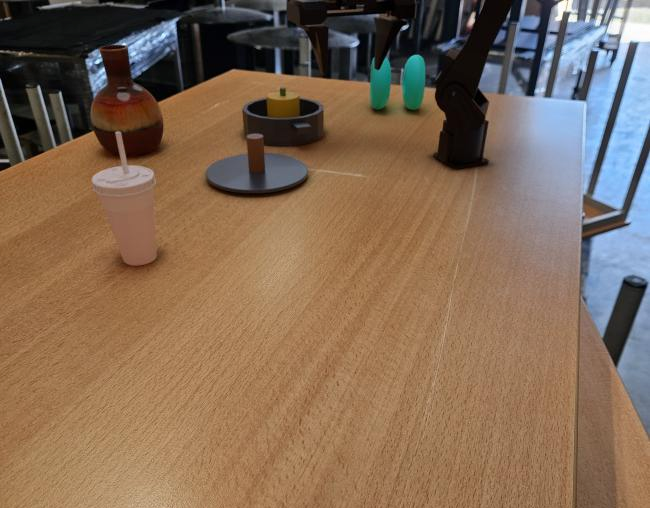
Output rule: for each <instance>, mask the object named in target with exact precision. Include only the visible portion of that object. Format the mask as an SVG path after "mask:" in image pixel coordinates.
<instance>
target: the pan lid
mask: <svg viewBox="0 0 650 508" xmlns="http://www.w3.org/2000/svg"><path fill="white" fill-rule="evenodd" d="M245 138H246V150H247V151H246V152H247V153H241V154H236V155H231V156H226V157H224V158H221V159H218V160H216V161H215V162H213V163H211V164H210V165H209V166H208V167H207V168H206V171H205V179H206V181H207V182H208V183H209V184H210V185H212V186H213V187H215V188H217V189H220V190H224V191H227V192H233V193H239V194H266V193H276V192H279V191H284V190H289V189H290V188H293V187H295V186H297V185H300V184H301V183H303V182H304V181H305V180H306V179H307V177H308V175H309V169H308V166H307V165H306V164H305V162H303V161H302V160H300V159H298V158H296V157H293V156H290V155H286V154H280V153H271V152H270V153H269V152H265V145H264V140H263V135H261V134H249V135H247V136H246V137H245Z"/></svg>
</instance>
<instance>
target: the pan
mask: <svg viewBox="0 0 650 508" xmlns="http://www.w3.org/2000/svg"><path fill="white" fill-rule="evenodd" d="M299 106H300V117H291V118H272V117H268V111H267V97H262V98H258V99H255V100H252V101H251V100H250V101H249V102H247V103H245V104H244V105H243V107H242V109H241V112H242V125H243V126H242V127H243V133H244V136H245V138H246V136H247V135H249V134H261V135H263V140H264V146H269V147H271V146H272V147H293V146H302V145H306V144H310V143H313V142H316V141H318V140H320V139H321V138H322V137H323V136H324V128H325V126H324V124H325V123H324V120H325V119H324V115H325V113H324V112H325V109H324V104H323V103H321V102H319V101H318V100H314V99H310V98H306V97H299Z"/></svg>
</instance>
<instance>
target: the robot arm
mask: <svg viewBox="0 0 650 508" xmlns="http://www.w3.org/2000/svg"><path fill="white" fill-rule="evenodd" d="M416 1H417V0H289V1H288V2H287V5H286V20H287V21H289V22H290V23H294V24H295V25H296V27H297V28H299V29H300V30H301V29H302V30H303V31H304V32H305V34H306V35H307V38H308V40H309V42H310V44H311V47H312V50H313V53H314V56H315V60H316V63H317V66H318V68H319V72H320V74H321V76H326V75H327V71H328V61H329V60H328V59H329V57H328V56H329V30H330V27H329V26H328V25H325V24H324V23H325V21H326V20H327V19H328V18H337V17H338V18H339V17H354V16H355V17H356V16H371V15H378V16H374V17H373V21H374V22H373V23H374V26H375V44H374V55H373V56H374V57H373V58H374V68H375V69H376V70H380V68H381V66H382V64H383V62H384V60H385V58H387V56H388V53H389V52H390V50H391V47H392V45H393V44H394V42H395V40H396V39H397V37H398V35H399V33H400V32H401V30H402V29H403V27H404V26H408V24H409V21H408V20H413V19H416V18H417V8H418V4H417V2H416ZM515 1H516V0H485V1H484V3H483V5H482V7H481V10H480V11H479V14H478V16H477V18H476V20H475V22H474V24H473V27H472V29H471V31H470V33H469V35H468V37H467V39H466V41H465V43H464V44H463V46H462V47H461V49H460V50H459V52H458V51H457V50H455V49H454V48H452V47H451V48H450V49H449V50H448V52H447V53H446V55H445V58H444V61H443V65H442V69H441V71H439V73H438V74H437V76H436V77H435V80H434V81H433V85H437V86H436V87H435V88H436V89H435V92H434V99H435V103H436V106H437V107H438V108H439V110H440V111H442V112H443V113H444V117H445V119H443V122H442V129H441V130H440V131H439V137H438V144H437V145H438V146H437V152H434V153H433V158H435V159H437V160H439V161H440V162H442V163H444V164H446V165H447V166H449V167H450V168H452V169H455V170H457V169H458V170H459V169H465V168H469V167H476V166H483V165H488V164H489V162H490V160H489V159H488V158H486V157H484V152H485V147H486V140H487V134H488V129H489V123H490V120H487V119H486V117H487V114H488V111H489V110H488V109H489V106H490V101H489V99H488V98H487V96H485V94H484V93H483V91H482V90H481V89H480V88H479V86H480V82H481V80H482V76H483V74H484V70H485V67H486V64H487V60H488V57H489V54H490V51H491V49H492V47H493V45H494V44H495V41H496V39H497V37H498V36H499V33H500V32H501V29H502V27H503V26H504V24H505V21H506V19H507V18H508V15H509V13H510V11H511V9H512V7H513V6H514V3H515Z"/></svg>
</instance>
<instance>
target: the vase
mask: <svg viewBox="0 0 650 508" xmlns="http://www.w3.org/2000/svg"><path fill="white" fill-rule="evenodd" d="M98 50H99V54H100V57H101V60H102V65H103V68H104V72H105V77H106V85H105V86H103V87H102V88H101V89H99V90H98V92H97V93H96V95H95V96H94V98H93V100H92V101H91V106H90V112H89V113H90V122H91V127H92V130H93V133H94V134H95V137H96V139H97V141H98V142H99V144H100V145H101V146H102V148H103V149H104V150H105V151H107V152H108V153H109V154H111V155H114V156H118V157H120V153H119V149H118V144H117V139H116V134H115V132H121V135H122V140H123V145H124V150H125V155H126V157H139V156H142V155H147V154H150V153H152V152H154V151H156V150H157V149H158V148H159V146H160V144H161V143H162V139H163V136H164V135H163V134H164V116H163V112H162V109H161V106H160V104H159V102H158V101H157V99H156V98H155V96H153V94H152V93H151V92H150V91H149V90H147V89H146V88H145V87H143V86H141V85H140V84H138V83H136V82H134V80H133V76H132V69H131V62H130V53H129V52H130V51H129V47H128V46H127V45H125V44H108V45H102V46H100V47H99V48H98Z"/></svg>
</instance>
